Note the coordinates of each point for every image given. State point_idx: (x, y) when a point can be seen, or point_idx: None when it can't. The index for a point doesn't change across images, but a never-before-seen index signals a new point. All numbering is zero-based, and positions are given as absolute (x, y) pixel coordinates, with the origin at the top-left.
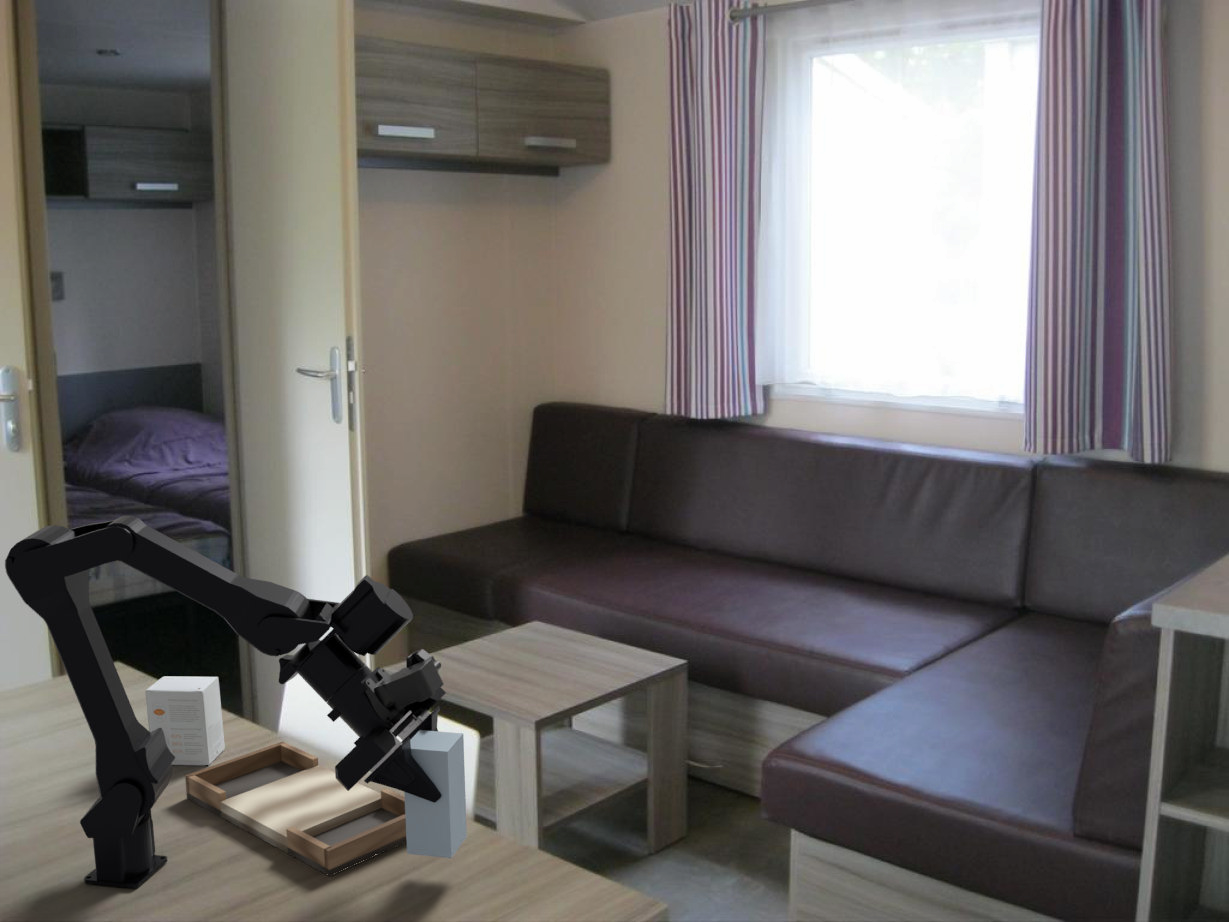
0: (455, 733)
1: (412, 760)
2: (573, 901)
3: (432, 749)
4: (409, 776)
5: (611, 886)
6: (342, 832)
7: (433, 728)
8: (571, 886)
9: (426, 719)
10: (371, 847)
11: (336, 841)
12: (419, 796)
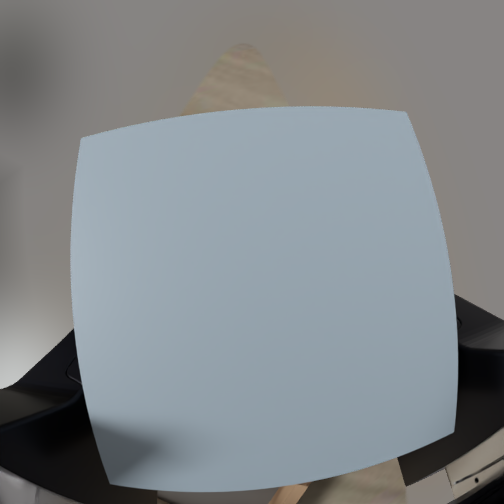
0: (86, 184)
1: (461, 328)
2: (259, 96)
3: (430, 216)
4: None
5: (210, 74)
6: (189, 495)
7: (37, 400)
8: (222, 108)
9: (21, 469)
10: None
11: (218, 492)
12: None
